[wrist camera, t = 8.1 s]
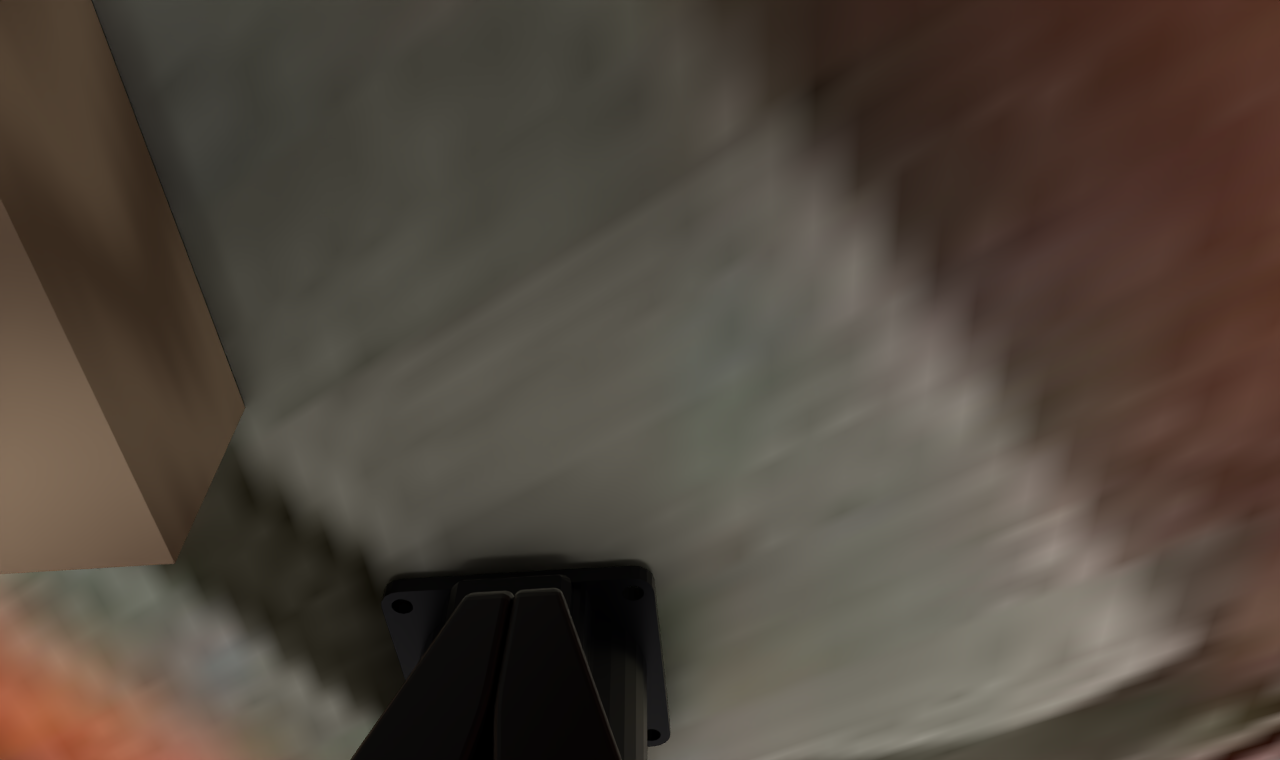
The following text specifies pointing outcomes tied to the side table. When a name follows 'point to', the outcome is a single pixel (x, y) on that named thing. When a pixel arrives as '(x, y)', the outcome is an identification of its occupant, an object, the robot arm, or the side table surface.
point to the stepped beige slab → (94, 316)
